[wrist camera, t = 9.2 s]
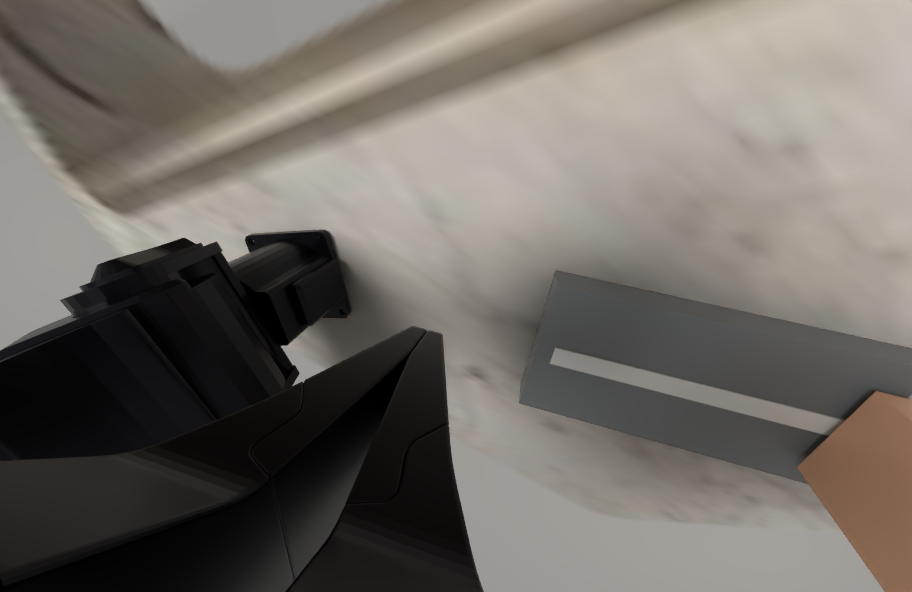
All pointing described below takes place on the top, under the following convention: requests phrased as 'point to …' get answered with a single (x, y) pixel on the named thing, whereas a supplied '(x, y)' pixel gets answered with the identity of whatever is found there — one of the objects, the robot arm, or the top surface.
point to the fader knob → (871, 485)
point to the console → (702, 373)
